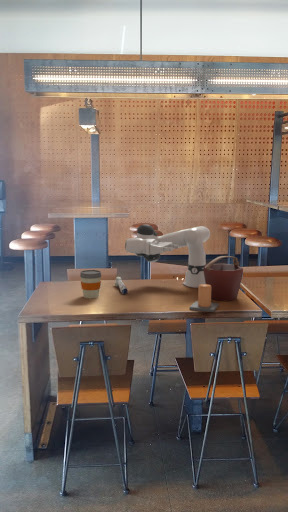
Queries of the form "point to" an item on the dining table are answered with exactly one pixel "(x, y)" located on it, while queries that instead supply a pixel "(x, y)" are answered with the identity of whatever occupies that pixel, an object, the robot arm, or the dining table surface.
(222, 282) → the bucket
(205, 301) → the tan upright cylinder
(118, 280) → the white blue cylinder
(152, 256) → the robot arm
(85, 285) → the reusable coffee cup
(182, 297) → the dining table surface
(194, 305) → the post base
